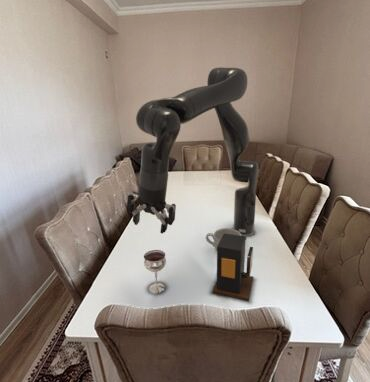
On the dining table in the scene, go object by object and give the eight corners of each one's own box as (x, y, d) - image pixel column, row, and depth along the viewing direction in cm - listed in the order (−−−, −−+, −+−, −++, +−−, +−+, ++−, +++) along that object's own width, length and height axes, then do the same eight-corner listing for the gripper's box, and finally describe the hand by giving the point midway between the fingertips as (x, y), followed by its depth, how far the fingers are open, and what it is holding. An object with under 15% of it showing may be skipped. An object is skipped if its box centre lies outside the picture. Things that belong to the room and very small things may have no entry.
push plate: (248, 266, 79) (249, 246, 77) (252, 266, 79) (253, 247, 77) (246, 277, 74) (247, 256, 72) (249, 277, 74) (250, 257, 72)
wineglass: (149, 298, 76) (146, 263, 73) (144, 285, 82) (141, 252, 79) (170, 291, 79) (168, 258, 75) (163, 279, 85) (161, 247, 81)
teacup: (243, 248, 103) (244, 230, 100) (237, 262, 93) (237, 242, 91) (211, 242, 108) (211, 225, 106) (202, 254, 99) (202, 236, 97)
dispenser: (220, 273, 87) (221, 231, 82) (253, 279, 83) (256, 236, 78) (212, 293, 77) (212, 247, 72) (248, 301, 73) (251, 254, 69)
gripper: (182, 182, 69) (175, 227, 78) (135, 169, 71) (134, 213, 80) (173, 196, 63) (166, 242, 71) (122, 181, 65) (122, 227, 74)
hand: (149, 227), depth 76 cm, fingers open, 8 cm apart
